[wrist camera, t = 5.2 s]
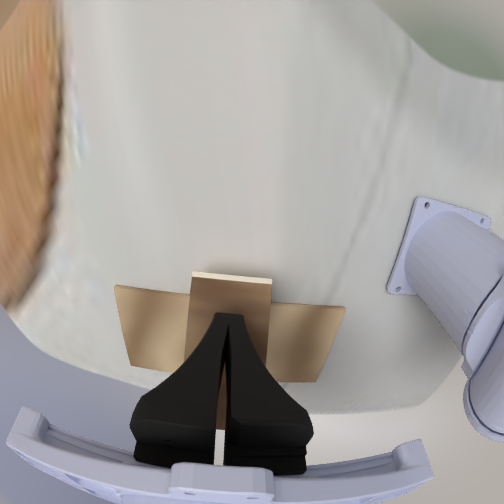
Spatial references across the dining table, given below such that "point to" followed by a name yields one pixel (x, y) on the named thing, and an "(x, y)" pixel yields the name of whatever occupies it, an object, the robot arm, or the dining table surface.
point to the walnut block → (228, 301)
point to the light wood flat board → (175, 325)
